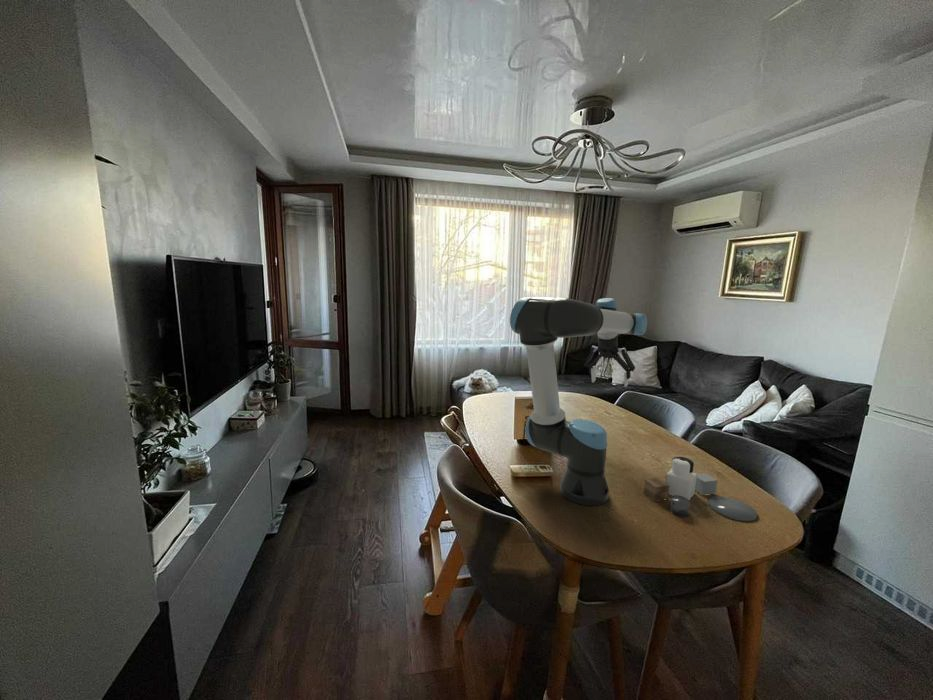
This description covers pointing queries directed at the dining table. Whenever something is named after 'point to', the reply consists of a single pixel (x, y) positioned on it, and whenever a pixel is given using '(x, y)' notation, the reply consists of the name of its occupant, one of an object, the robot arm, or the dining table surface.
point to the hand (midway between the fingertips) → (609, 383)
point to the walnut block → (656, 489)
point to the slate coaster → (732, 508)
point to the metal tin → (679, 505)
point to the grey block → (705, 484)
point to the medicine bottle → (681, 478)
